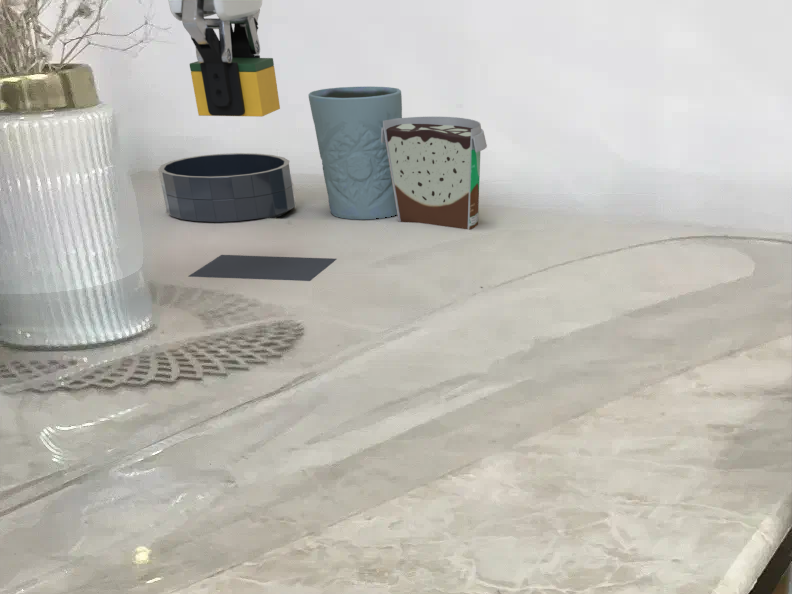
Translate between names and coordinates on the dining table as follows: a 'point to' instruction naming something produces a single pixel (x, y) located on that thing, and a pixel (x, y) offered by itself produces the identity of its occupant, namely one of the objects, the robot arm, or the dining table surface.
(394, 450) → the dining table surface
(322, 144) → the blue embossed cup
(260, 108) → the sponge
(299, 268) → the mat
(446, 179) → the food container
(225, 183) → the bowl
